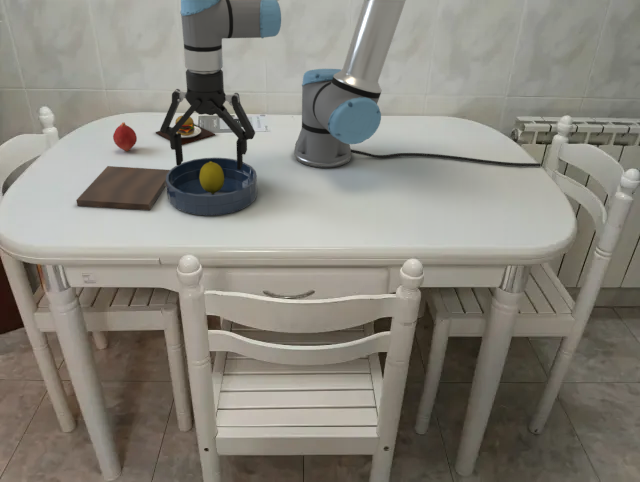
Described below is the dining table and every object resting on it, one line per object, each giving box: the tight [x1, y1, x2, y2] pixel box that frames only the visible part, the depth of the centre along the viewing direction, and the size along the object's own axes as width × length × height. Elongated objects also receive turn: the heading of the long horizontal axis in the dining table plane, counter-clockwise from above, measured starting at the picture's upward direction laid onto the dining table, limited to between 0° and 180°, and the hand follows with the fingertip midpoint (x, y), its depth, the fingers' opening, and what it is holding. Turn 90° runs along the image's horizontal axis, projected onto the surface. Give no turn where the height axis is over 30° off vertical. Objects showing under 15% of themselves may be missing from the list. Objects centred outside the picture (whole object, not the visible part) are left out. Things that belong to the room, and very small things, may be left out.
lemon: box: [199, 161, 224, 194], centre depth 127 cm, size 6×6×8 cm
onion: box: [112, 121, 138, 152], centre depth 146 cm, size 6×6×8 cm
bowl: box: [165, 157, 258, 217], centre depth 128 cm, size 20×20×5 cm
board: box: [75, 165, 171, 211], centre depth 129 cm, size 16×18×2 cm
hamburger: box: [155, 115, 216, 146], centre depth 159 cm, size 12×12×6 cm
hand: (209, 165), depth 125 cm, fingers open, 13 cm apart
